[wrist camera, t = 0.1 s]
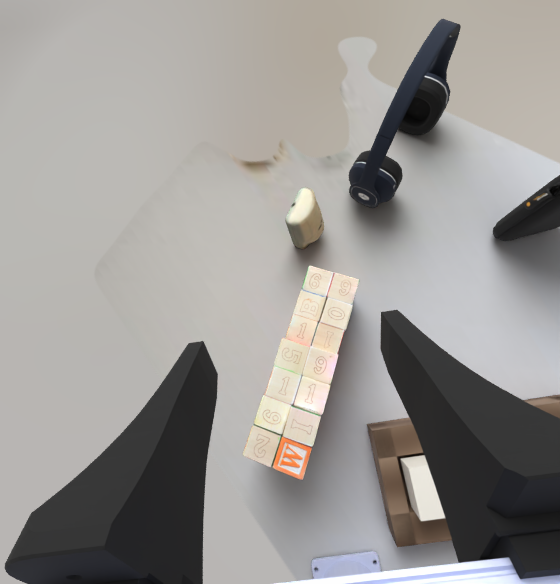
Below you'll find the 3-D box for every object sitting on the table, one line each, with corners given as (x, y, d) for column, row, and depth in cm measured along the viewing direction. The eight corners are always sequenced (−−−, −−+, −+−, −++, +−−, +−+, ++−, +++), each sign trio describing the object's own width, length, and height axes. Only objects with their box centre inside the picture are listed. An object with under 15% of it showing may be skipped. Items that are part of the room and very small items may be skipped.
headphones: (379, 221, 47) (418, 137, 29) (338, 201, 49) (352, 108, 31) (442, 117, 50) (512, -19, 32) (401, 100, 51) (447, -39, 33)
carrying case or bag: (483, 250, 45) (562, 197, 30) (475, 230, 45) (548, 170, 31) (560, 229, 44) (678, 166, 30) (550, 210, 45) (661, 139, 30)
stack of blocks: (310, 282, 46) (309, 255, 34) (352, 295, 45) (366, 272, 33) (261, 430, 43) (240, 457, 31) (305, 448, 42) (302, 482, 30)
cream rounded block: (285, 217, 49) (279, 190, 41) (318, 210, 49) (319, 181, 41) (292, 252, 48) (287, 230, 40) (326, 245, 47) (328, 222, 39)
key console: (596, 501, 37) (629, 517, 33) (389, 528, 39) (397, 547, 35) (559, 394, 40) (585, 398, 36) (367, 424, 41) (372, 430, 38)
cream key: (456, 500, 35) (471, 514, 32) (411, 506, 36) (420, 521, 32) (444, 452, 37) (456, 461, 33) (400, 458, 37) (408, 467, 34)
